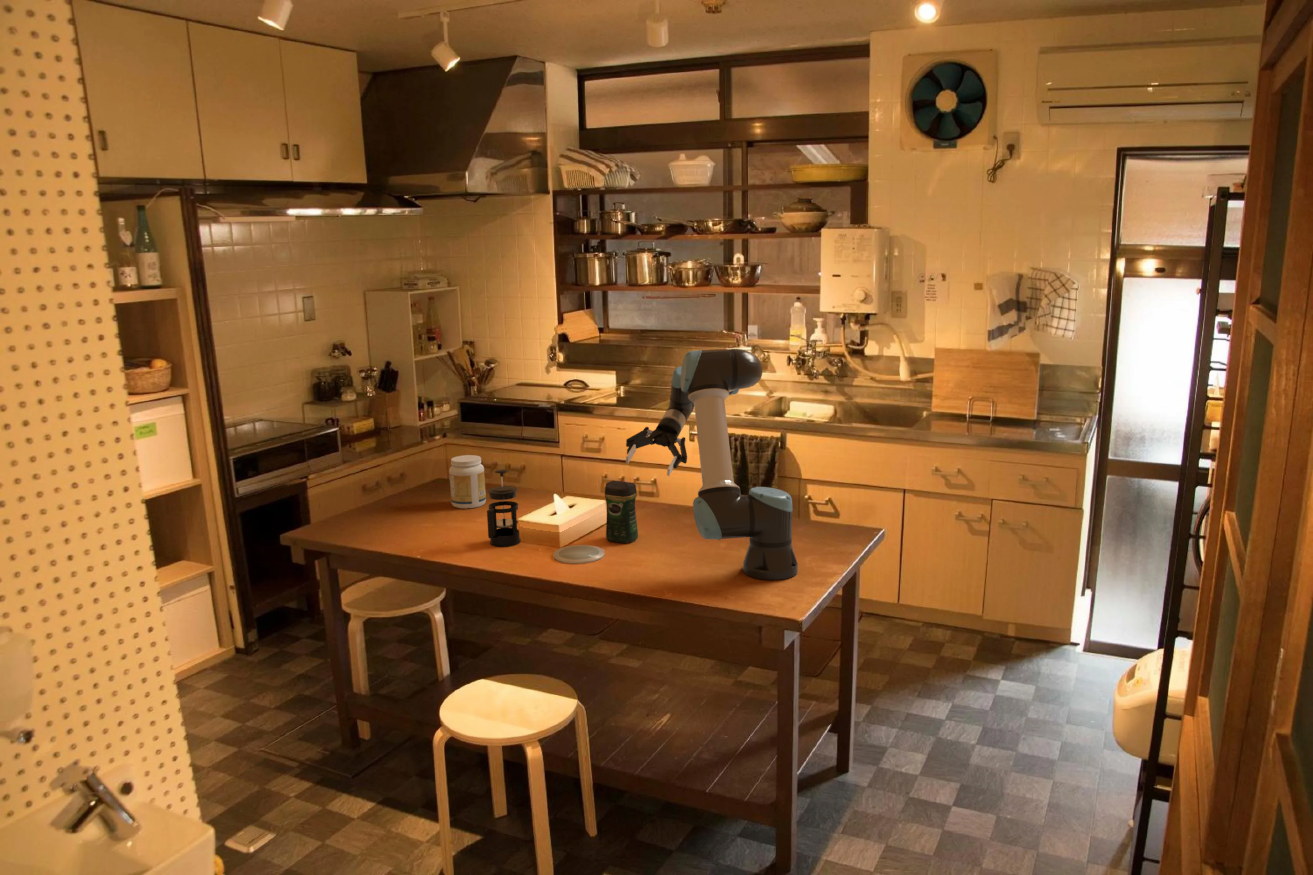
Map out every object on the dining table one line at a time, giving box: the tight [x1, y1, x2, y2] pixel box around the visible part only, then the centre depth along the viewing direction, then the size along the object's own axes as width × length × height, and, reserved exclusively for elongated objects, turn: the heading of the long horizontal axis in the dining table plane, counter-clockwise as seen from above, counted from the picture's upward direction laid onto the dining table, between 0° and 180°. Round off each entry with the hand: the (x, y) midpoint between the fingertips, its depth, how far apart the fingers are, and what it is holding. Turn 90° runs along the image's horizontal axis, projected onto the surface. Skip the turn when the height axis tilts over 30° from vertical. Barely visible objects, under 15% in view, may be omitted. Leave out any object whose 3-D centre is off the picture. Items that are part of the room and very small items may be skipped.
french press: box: [486, 468, 521, 548], centre depth 292 cm, size 12×9×23 cm
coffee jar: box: [604, 479, 639, 544], centre depth 293 cm, size 10×8×19 cm
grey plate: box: [553, 544, 605, 565], centre depth 281 cm, size 15×15×1 cm
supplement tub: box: [448, 454, 487, 510], centre depth 335 cm, size 12×12×17 cm
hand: (647, 466), depth 293 cm, fingers open, 13 cm apart
